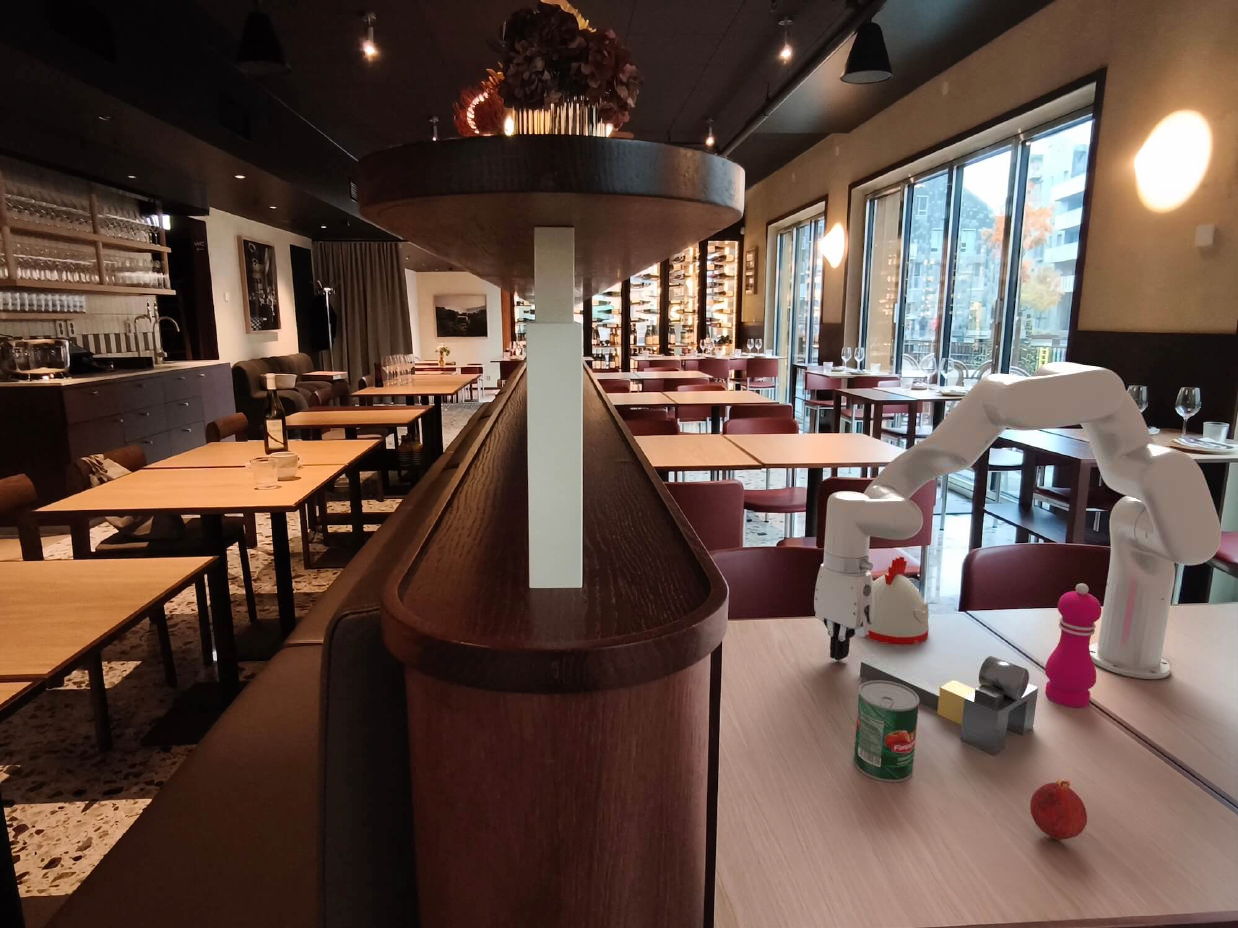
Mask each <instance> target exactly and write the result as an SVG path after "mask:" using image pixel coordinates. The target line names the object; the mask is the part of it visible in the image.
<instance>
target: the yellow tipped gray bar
mask: <svg viewBox="0 0 1238 928" xmlns="http://www.w3.org/2000/svg"><path fill="white" fill-rule="evenodd" d="M859 669H860V670H859V676H861V677H863V678H865V679H868V681H877V680H881V681H890V682H894V683H898V684H901V685H904V686H906V687H908V688H910V689H911V690H913V691H914V692H915V693H916V694H917V695H918V697H919V704H922V705H923V706H926V707H928V708H930V709H932V710H934V711H937V712H936V713H937V715H940V716H942V717H944V718H946V719H948V720H950V721H952V722H954V723H956V724H958V725H960V726H962V717H963V707H964V698H965V697H967V696H968V695H970V694H972V693H974V692H975V689H976V688H974V687H971V686H970V685H966V684H964V683H962V682H960V681H957V680H955V679H952V680H951V681H948V682H947V683H946V684H943V685H942V686H940V687H938V686H935V685H933V684H930V683H928V682H925V681H923V680H921V679H919V678H916V677H914V676H913V675H911V674H910V675H909V674H907V673H905V672H902V671H900V670H897V669H896V668H893V667H891V666H888V665H886V664H884V663H881V662H879V661H877V660H875V659H872V658H870V657H868V658H866V659H864V660H861V661H860V667H859Z"/></svg>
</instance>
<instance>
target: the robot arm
mask: <svg viewBox="0 0 1238 928" xmlns="http://www.w3.org/2000/svg"><path fill="white" fill-rule="evenodd" d="M1076 425H1080V426H1081V428H1082V429H1083V431H1084V433H1085V435H1086V437H1087V439H1088V442H1089V446H1090V448H1091V450H1092V453H1093V455H1094V458H1095V461H1096V464H1097V467H1098V470H1099V472H1100V475H1101V478H1102V480H1103V482H1104V483H1105V484H1106V486H1107V487H1108V488H1109V489H1111V490H1113V491H1115V492H1117V493H1119V494H1121V495H1124V496H1123V497H1121V498H1120V499H1119V500H1118V501H1117V502H1116V503H1115V504H1114V506H1113V508H1112V510H1111V512H1110V514H1109V515H1110V517H1109V537H1110V556H1109V558H1110V559H1109V567H1108V574H1107V580H1106V587H1105V594H1104V600H1103V609H1102V612H1101V620H1100V622H1101V623H1100V628H1099V629H1100V630H1099V635H1098V642H1096V643H1092V644H1090V645H1089V649H1090V655H1091V658H1092V661H1093V664H1094V665H1096V666H1098V667H1100V668H1102V669H1104V670H1106V671H1109V672H1112V673H1115V674H1117V675H1121V676H1125V677H1129V678H1135V679H1140V680H1141V679H1142V680H1143V679H1144V680H1158V679H1159V680H1161V679H1165V678H1166V677H1168V676H1169V675H1170V673H1171V670H1172V667H1171V664H1170V663H1169V661H1167V660H1166V659H1165V658H1163V657H1162V656H1163V650H1164V646H1165V645H1164V643H1165V637H1166V631H1167V626H1168V619H1169V613H1170V607H1171V602H1172V596H1173V591H1174V585H1175V584H1174V583H1175V578H1176V577H1175V574H1176V573H1175V572H1176V571H1175V570H1176V569H1175V564H1178V565H1182V566H1183V565H1184V566H1196V565H1201V564H1203V563H1206V562H1207V561H1209V560H1211V559H1212V558H1213V557H1214V556H1216V553H1217V552H1218V550H1219V548H1220V546H1221V542H1222V526H1221V522H1220V518H1219V516H1218V513H1217V510H1216V506H1215V504H1214V499H1213V497H1212V495H1211V491H1210V489H1209V486H1208V483H1207V480H1206V478H1205V475H1204V472H1203V470H1202V469H1201V467H1200V466H1199V464H1198V463H1197V462H1196V461H1195V459H1193V458H1192V457H1191V456H1190V455H1189V454H1187V453H1186V452H1183V451H1180V450H1178V449H1175V448H1172V447H1168V446H1164V445H1160V444H1159V443H1157V442H1156V441H1155V440H1154V439H1153V438H1152V437H1153V436H1152V435H1151V433H1150V431H1149V429H1148V426H1147V424H1146V421H1145V419H1144V416H1143V414H1142V412H1141V410H1140V408H1139V406H1138V404H1137V402H1136V401H1135V400H1134V397H1132V395H1131V394H1130V393H1129V391H1127V390H1126V386H1125V384H1124V381H1123V380H1122V378H1121V377H1120V376H1119V375H1118V374H1117V373H1116V372H1114V371H1113V370H1111V369H1109V368H1105V367H1100V366H1093V365H1086V364H1085V365H1084V364H1081V363H1076V362H1070V361H1069V362H1068V361H1054V362H1049V363H1046V364H1043V365H1041V366H1040V367H1038V368H1037V369H1036V370H1035V371H1034V372H1033V374H1032V376H1018V375H1014V374H1007V373H992V374H989V375H985V376H984V377H982V378H981V379H980V380H978V381H977V382H976V383H975V384H974V385H973V386H972V387H971V389H969V391H968V392H967V393H965V395H964V396H963V397H962V398H961V400H960V401H959V402H958V403H957V404H956V406H954V408H953V409H952V410H951V411H950V412H949V413H948V414H947V416H946V417H944V418H943V420H942V421H941V422H939V424H938V425H937V426H936V427H935V428H934V430H933V431H932V432H931V433H930V434H929V435H928V436H927V437H926V438H924V439H922V440H920V441H919V442H917V443H916V444H914V445H913V446H911V447H910V448H908V449H906V450H905V451H904V452H902V453H901V454H899V455H898V456H896V457H895V458H893V459H892V460H891V461H890V462H888V464H887V465H886V466H885V467H884V468H883V469H882V470H881V471H880V472H879V473H878V475H877V476H876V477H875V478H874V479H873V480H872V481H871V482H870V484H869V485H867V487H866V489H865V490H864V492H863V493H862V492H857V491H851V490H850V491H847V490H846V491H837V492H833V493H832V494H830V495H829V496H828V499H827V503H826V514H825V515H826V517H825V518H826V519H825V532H824V533H825V534H824V548H823V549H824V551H823V563H821V564H820V567H819V570H818V573H817V579H816V582H815V590H814V599H813V607H814V608H813V609H814V612H815V618H816V619H818V620H820V621H821V622H822V623H823V624H824V626H825V627H826V629H827V635H828V636H829V637H830V642H829V643H830V644H829V658H831V659H834V660H836V661H840V660H843V659H846V658H847V657H848V656H849V652H850V644H851V643H850V641H851V639H852V638H853V637H861V638H863V637H866V635H868V634H869V632H868V624H872V623H873V619H874V587H873V582H874V579H873V575H872V572H871V571H872V570H873V568H874V564H873V563H872V562H870V561H869V559H870V558H869V556H870V553H869V551H870V539H871V538H870V537H874V538H881V539H887V540H895V541H899V540H907V539H911V538H912V537H914V536H916V535H917V534H918V533H919V532H920V530H921V529H922V527H923V523H924V517H923V512H922V511H921V508H920V507H919V506H918V505H917V504H916V503H915V502H914V501H912V500H911V499H910V498H912V496H913V495H914V494H915V493H916V492H917V491H919V489H921V488H922V487H923V486H924V485H926V484H927V483H928V482H931V481H932V480H934V479H937V478H939V477H942V476H946V475H951V474H956V473H959V472H962V471H964V470H968V469H970V468H971V467H972V466H973V465H974V464H975V463H976V462H977V460H978V459H979V458H980V457H981V456H982V455H983V454H984V452H985V451H987V450H988V448H989V447H990V446H991V445H992V444H993V443H994V442H995V441H996V440H997V439H998V438H999V436H1001V434H1002V433H1004V431H1005V430H1007V429H1010V430H1012V431H1013V430H1014V431H1023V432H1025V431H1028V432H1029V431H1036V430H1038V431H1039V430H1047V429H1054V428H1061V427H1066V426H1067V427H1068V426H1076Z"/></svg>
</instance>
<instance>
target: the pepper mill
mask: <svg viewBox="0 0 1238 928" xmlns="http://www.w3.org/2000/svg"><path fill="white" fill-rule="evenodd" d="M1089 590H1090V589H1089V586H1088V585H1087V584H1086V583H1078V584H1076V586H1075V590H1073V591H1068V592H1065V593H1064V594H1062V595H1061V596H1060V598H1059V600H1058V603H1057V611H1058V613H1059V614H1060V615H1061V617H1060V618H1059V619H1058V620H1059V623H1058V627H1059V628H1060V637H1059V641H1058V643H1057V645H1056V647H1055V649H1054V650H1053V651H1052V653H1050V655H1049V657H1048V658H1047V661H1046V663H1045V667H1044V672H1045V673H1044V674H1045V675H1046V677H1047V679H1048V681H1047V682H1046V684H1045V690H1044V691H1045V692H1044V693H1045V696H1047V698H1049V699H1050V700H1051V701H1053V702H1055V703H1057V704H1059V705H1063V706H1067V707H1070V708H1071V707H1072V708H1084V707H1086V706H1089V704H1090V702H1091V701H1090V700H1091V692H1090V689H1092V688H1093V687H1094V686H1095V685H1096V683H1097V670H1096V667H1095V663H1093V661H1092V658H1091V655H1090V649H1089V646H1090V645H1091V644H1090V643H1091V637H1092V636H1093V635H1094V634H1095V633H1096V631H1095V629H1096V623H1095V622H1098V620H1100V619H1101V617H1102V604H1101V602H1100V601H1099V600H1098V599H1097V598H1096V597H1095V596H1094V595H1092V594H1091V593H1088V592H1089Z"/></svg>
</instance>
